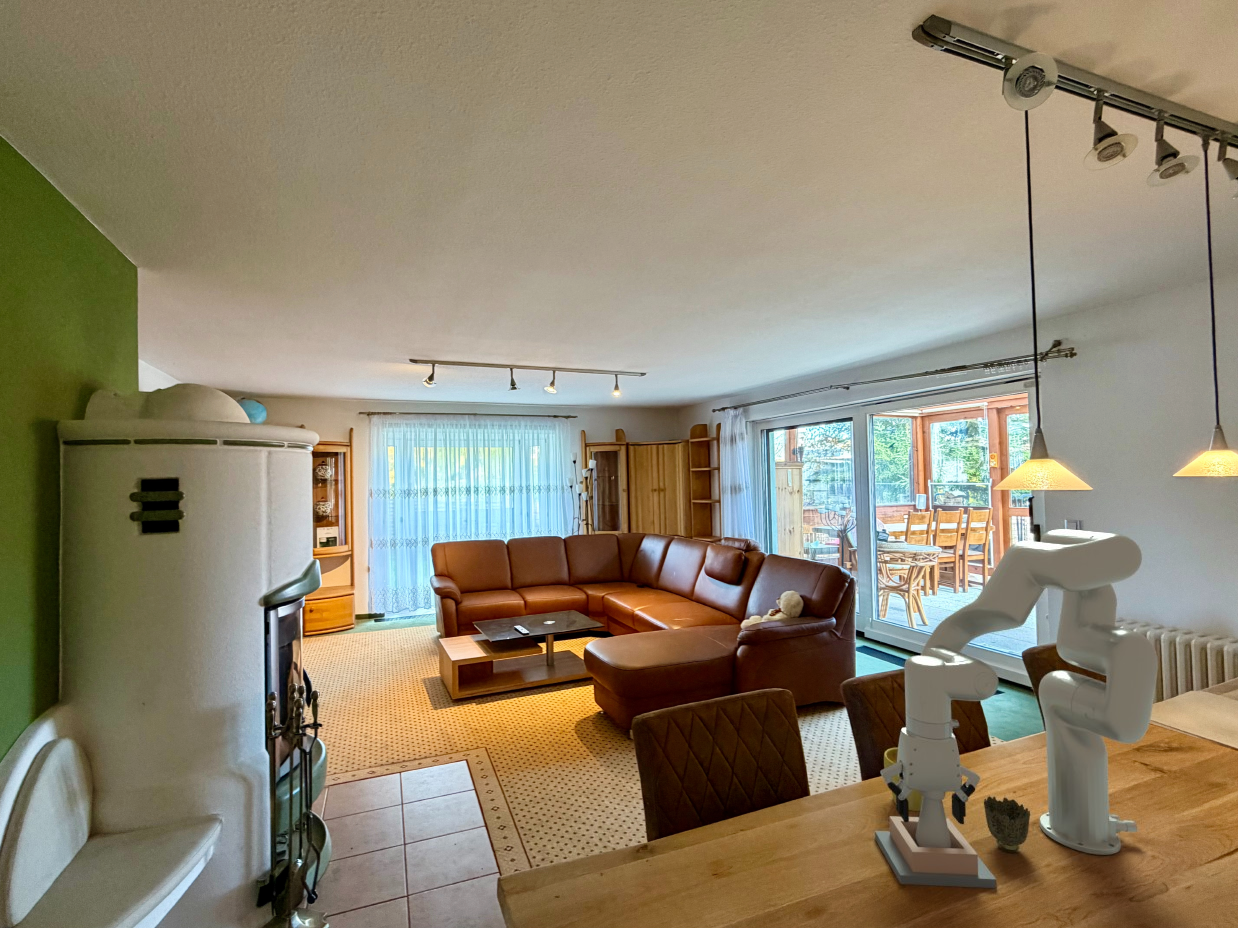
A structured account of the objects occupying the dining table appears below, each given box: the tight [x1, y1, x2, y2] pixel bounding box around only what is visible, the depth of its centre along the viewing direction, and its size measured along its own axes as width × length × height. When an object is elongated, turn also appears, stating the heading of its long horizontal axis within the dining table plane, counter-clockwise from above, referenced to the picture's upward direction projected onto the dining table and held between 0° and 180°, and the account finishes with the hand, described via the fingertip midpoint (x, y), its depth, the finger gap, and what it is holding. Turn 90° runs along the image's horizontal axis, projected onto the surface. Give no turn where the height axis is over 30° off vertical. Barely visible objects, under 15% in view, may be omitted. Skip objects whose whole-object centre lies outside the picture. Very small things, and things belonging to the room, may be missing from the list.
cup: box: [983, 795, 1031, 853], centre depth 113 cm, size 8×7×8 cm
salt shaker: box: [915, 791, 951, 848], centre depth 109 cm, size 6×6×13 cm
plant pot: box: [883, 747, 923, 812], centre depth 129 cm, size 10×10×10 cm
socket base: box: [874, 815, 998, 889], centre depth 109 cm, size 16×13×5 cm
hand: (930, 818), depth 109 cm, fingers open, 9 cm apart
